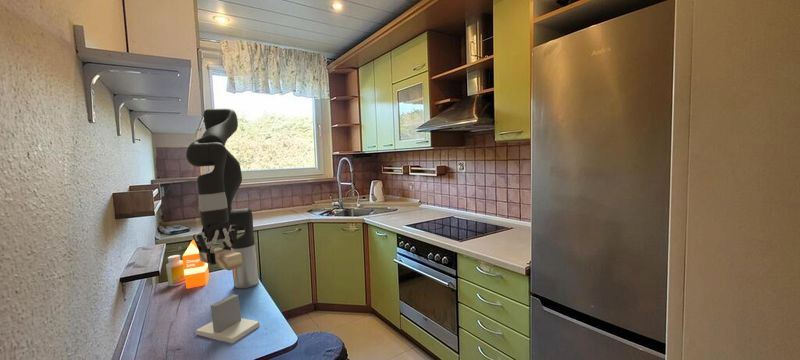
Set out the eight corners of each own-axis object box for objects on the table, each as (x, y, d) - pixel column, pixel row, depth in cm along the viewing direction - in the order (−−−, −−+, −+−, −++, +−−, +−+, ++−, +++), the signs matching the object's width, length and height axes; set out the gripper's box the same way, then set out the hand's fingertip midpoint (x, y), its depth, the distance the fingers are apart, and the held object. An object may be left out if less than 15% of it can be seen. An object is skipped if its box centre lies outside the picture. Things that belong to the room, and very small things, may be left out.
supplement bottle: (189, 281, 151) (186, 254, 150) (177, 286, 145) (173, 258, 143) (178, 280, 152) (174, 253, 151) (164, 286, 146) (161, 258, 145)
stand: (196, 334, 102) (192, 304, 102) (225, 318, 111) (221, 290, 111) (232, 343, 96) (228, 311, 95) (259, 326, 105) (256, 296, 104)
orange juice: (186, 288, 142) (180, 243, 140) (190, 281, 150) (185, 239, 148) (206, 284, 144) (201, 240, 143) (209, 278, 153) (204, 236, 151)
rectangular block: (242, 266, 97) (241, 253, 97) (228, 270, 94) (227, 257, 94) (212, 257, 110) (211, 245, 109) (199, 260, 106) (198, 248, 106)
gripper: (226, 203, 108) (231, 253, 110) (182, 212, 95) (189, 268, 97) (242, 203, 105) (247, 255, 107) (199, 212, 92) (206, 270, 94)
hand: (220, 261), depth 102 cm, fingers closed on rectangular block, 4 cm apart
